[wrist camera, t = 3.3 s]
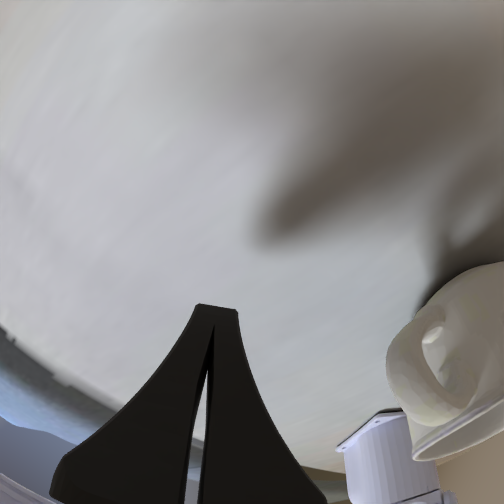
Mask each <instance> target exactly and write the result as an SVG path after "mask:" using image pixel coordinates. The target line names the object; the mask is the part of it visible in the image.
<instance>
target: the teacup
mask: <svg viewBox="0 0 504 504" xmlns="http://www.w3.org/2000/svg"><path fill="white" fill-rule="evenodd" d="M386 375H387V379H388V382H389V385H390V388H391V390H392V393H393V395H394V398H395V399H396V401H397V402H398V404H399V405H400V407H401V408H402V410H403V411H404V413H406V415H407V420H408V425H409V430H410V435H411V440H412V445H413V449H412V459H413V460H415V461H429V460H434V459H438V458H442V457H445V456H448V455H451V454H453V453H456V452H459V451H462V450H464V449H466V448H469V447H471V446H474V445H476V444H478V443H480V442H482V441H484V440H486V439H488V438H490V437H492V436H494V435H495V434H497V433H499V432H501V431H503V430H504V261H502V262H497V263H493V264H488V265H482V266H478V267H475V268H472V269H469V270H467V271H465V272H463V273H461V274H460V275H458V276H456V277H455V278H453V279H452V280H450V281H449V282H448V283H446V284H445V285H444V286H443V287H442V288H441V289H440V290H439V291H437V292H436V293H435V294H434V296H433V297H432V298H431V299H430V300H429V301H428V302H427V304H426V305H425V306H424V307H423V308H421V309H420V310H419V311H418V312H417V313H416V315H415V317H414V320H413V321H411V322H410V323H408V324H407V325H406V326H405V327H404V328H403V329H402V330H401V331H400V332H399V333H398V334H397V335H396V337H395V338H394V339H393V340H392V342H391V344H390V346H389V348H388V351H387V356H386Z"/></svg>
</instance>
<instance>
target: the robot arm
mask: <svg viewBox="0 0 504 504" xmlns="http://www.w3.org/2000/svg"><path fill="white" fill-rule="evenodd" d="M207 370H208V375H207ZM206 375H207V401H206V429H205V440H204V448H203V456H202V465H201V474H200V482H199V491H198V500H197V504H328V503H327V500H326V497H325V496H324V494H323V493H322V492H321V491H320V490H319V489H318V487H317V486H316V485H315V484H314V483H313V481H312V480H311V479H310V478H309V477H308V475H307V474H306V473H305V471H304V470H303V469H302V467H301V466H300V464H299V463H298V462H297V460H296V459H295V458H294V456H293V454H292V453H291V451H290V450H289V448H288V447H287V445H286V443H285V442H284V440H283V439H282V437H281V435H280V434H279V432H278V430H277V428H276V427H275V425H274V423H273V421H272V419H271V417H270V415H269V413H268V411H267V409H266V407H265V405H264V403H263V400H262V398H261V396H260V393H259V391H258V389H257V386H256V383H255V381H254V378H253V375H252V373H251V370H250V367H249V363H248V360H247V357H246V353H245V350H244V346H243V342H242V337H241V333H240V327H239V319H238V312H237V311H236V309H230V308H224V307H218V306H212V305H206V304H200V303H199V304H197V305H196V306H195V309H194V311H193V313H192V315H191V318H190V320H189V321H188V323H187V325H186V327H185V329H184V330H183V332H182V334H181V335H180V337H179V338H178V340H177V341H176V343H175V345H174V346H173V348H172V349H171V351H170V352H169V354H168V355H167V356H166V358H165V359H164V360H163V362H162V363H161V364H160V366H159V367H158V368H157V370H156V371H155V372H154V374H153V375H152V376H151V377H150V378H149V380H148V381H147V382H146V383H145V384H144V385H143V387H142V388H141V389H140V390H139V391H138V392H137V393H136V394H135V396H134V397H133V398H132V399H131V400H130V401H129V402H128V403H127V404H126V405H125V406H124V407H123V408H122V409H121V410H120V411H119V412H118V413H117V414H116V415H115V416H113V417H112V418H111V419H110V420H109V421H108V422H107V423H105V424H104V425H103V426H102V427H101V428H100V429H98V430H97V431H96V432H95V433H94V434H93V435H91V436H90V437H89V438H87V439H86V440H85V441H83V442H82V443H81V444H79V445H78V446H77V447H75V448H74V449H72V450H71V451H70V452H68V453H67V454H65V455H64V456H63V457H62V459H61V461H60V463H59V464H58V466H57V468H56V470H55V473H54V475H53V479H52V483H51V488H50V491H49V494H50V496H51V497H52V498H54V499H56V500H58V501H60V502H62V503H64V504H184V501H185V491H186V483H187V474H188V466H189V458H190V450H191V442H192V435H193V429H194V424H195V419H196V415H197V411H198V407H199V403H200V399H201V395H202V391H203V387H204V383H205V379H206ZM412 449H413V445H412V440H411V435H410V430H409V425H408V420H407V415H406V413H404V411H403V412H393V413H381V414H378V415H376V416H375V417H373V418H372V419H371V420H370V421H369V422H368V423H367V424H365V425H364V426H363V427H362V428H361V429H360V430H358V431H357V432H356V433H355V434H353V435H352V436H351V437H350V438H349V439H347V440H346V441H345V442H343V443H342V444H341V445H340V446H338V447H337V448H336V452H344V460H345V469H346V478H347V488H348V495H349V499H350V501H351V502H352V503H353V504H458V502H457V497H456V494H455V493H454V492H451V491H450V490H448V491H446V492H444V491H443V490H439V489H440V483H439V478H438V473H437V468H436V464H435V459H434V460H429V461H415V460H413V459H412ZM0 504H56V503H54V502H52V501H50V500H48V499H46V498H44V497H41V496H40V495H38V494H36V493H34V492H32V491H30V490H28V489H27V488H25V487H23V486H21V485H19V484H18V483H16V482H14V481H13V480H11V479H9V478H8V477H6V476H5V475H3V474H2V473H0Z"/></svg>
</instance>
